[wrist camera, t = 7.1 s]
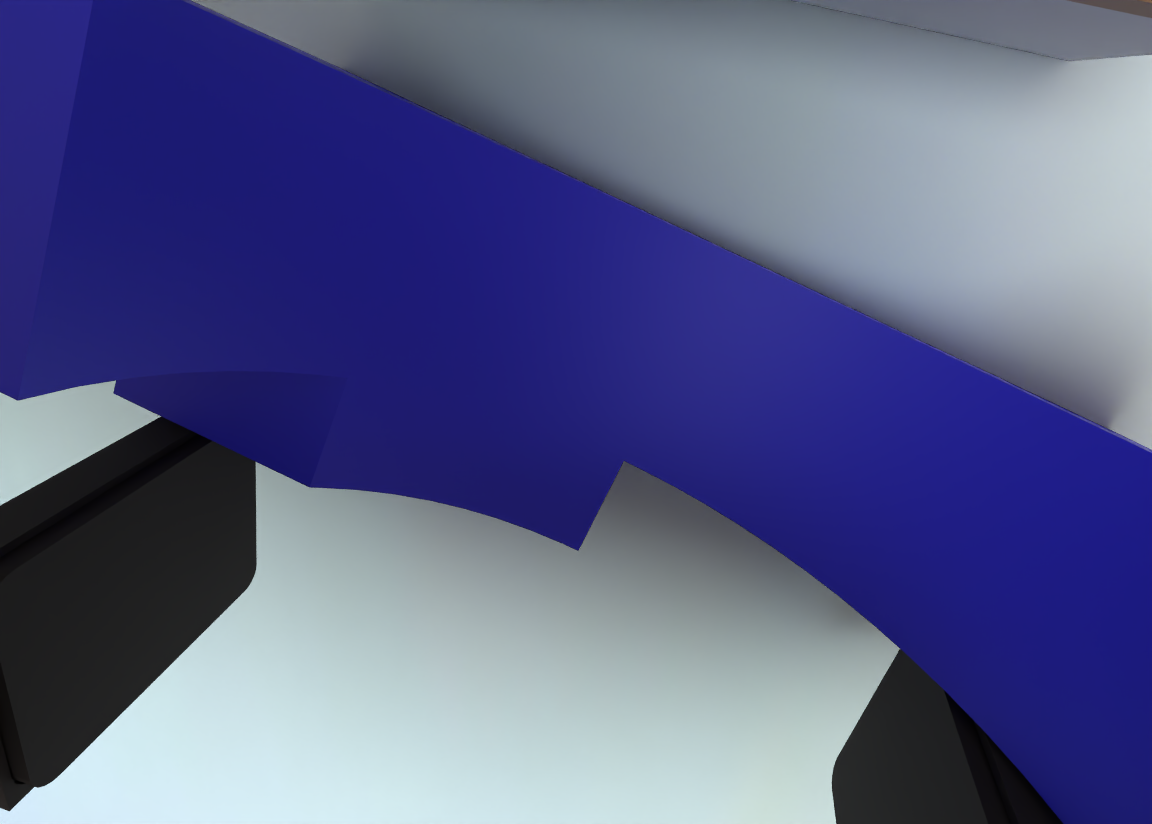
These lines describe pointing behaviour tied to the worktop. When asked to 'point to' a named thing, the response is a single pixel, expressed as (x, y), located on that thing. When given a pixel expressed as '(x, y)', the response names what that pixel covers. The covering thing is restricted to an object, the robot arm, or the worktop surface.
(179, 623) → the robot arm
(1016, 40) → the end stop block
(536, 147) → the worktop surface
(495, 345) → the cable clip
